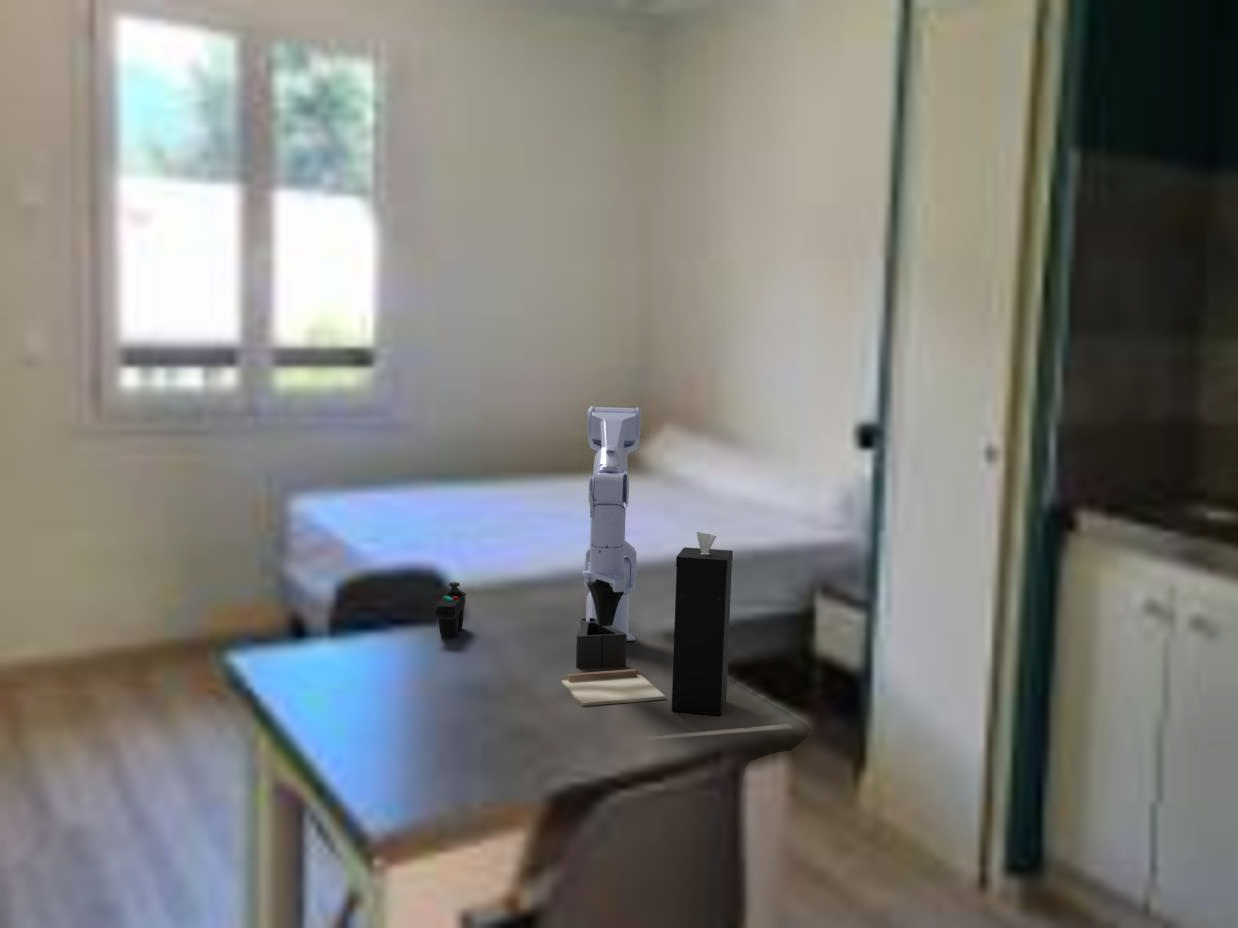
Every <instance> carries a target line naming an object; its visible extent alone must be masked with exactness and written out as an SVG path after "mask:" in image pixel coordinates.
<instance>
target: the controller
mask: <svg viewBox="0 0 1238 928" xmlns="http://www.w3.org/2000/svg"><path fill="white" fill-rule="evenodd" d="M460 585H461V583H459V582H455V581H453V582H449V583H448V586H449V587H450V589H448V590H447V591H446V592H445V593H443V595H442V596H441V597H440V598H441V600H440V601H439V602H438V604H437V605H436V608H435V611H434V615H435V616H436V617H438V627H439V634H440V636H441V637H442V638H457V637H459V636H460V634H461V632H462V631H463V625H464V616H465V615H464V611H465V606H466V596H467V593H466V592H463V591H461V589H459V588H458V587H460Z"/></svg>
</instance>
